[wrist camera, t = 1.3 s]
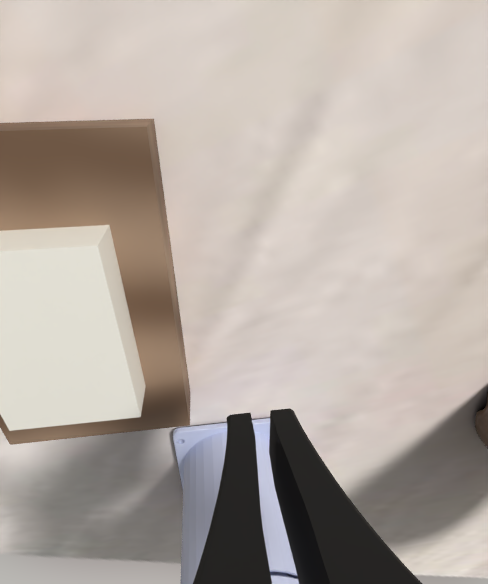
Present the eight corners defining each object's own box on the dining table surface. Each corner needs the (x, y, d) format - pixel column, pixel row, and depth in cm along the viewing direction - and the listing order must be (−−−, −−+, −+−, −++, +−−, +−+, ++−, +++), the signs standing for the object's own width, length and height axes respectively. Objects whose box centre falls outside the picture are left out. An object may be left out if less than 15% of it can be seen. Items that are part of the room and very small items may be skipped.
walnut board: (190, 392, 23) (189, 425, 21) (27, 408, 22) (10, 444, 20) (153, 119, 15) (146, 126, 12) (-112, 125, 14) (-168, 135, 11)
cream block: (145, 386, 19) (140, 417, 17) (26, 397, 18) (9, 430, 17) (109, 224, 14) (97, 245, 12) (-53, 233, 14) (-89, 256, 12)
